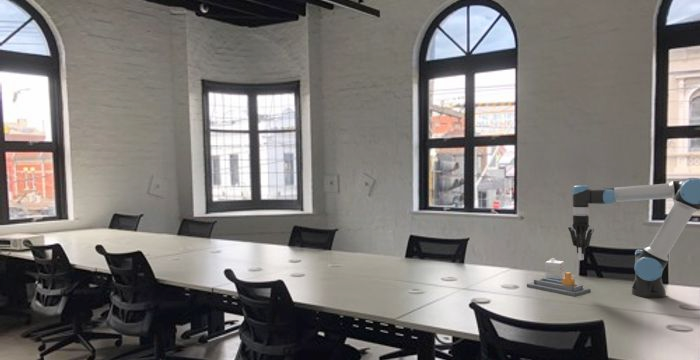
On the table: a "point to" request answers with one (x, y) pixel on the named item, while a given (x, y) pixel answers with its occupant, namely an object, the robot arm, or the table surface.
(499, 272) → the table surface
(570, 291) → the panel
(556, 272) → the ink box
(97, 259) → the table surface
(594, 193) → the robot arm
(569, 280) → the toggle
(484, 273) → the table surface
